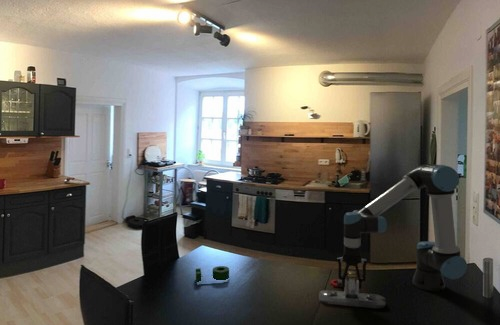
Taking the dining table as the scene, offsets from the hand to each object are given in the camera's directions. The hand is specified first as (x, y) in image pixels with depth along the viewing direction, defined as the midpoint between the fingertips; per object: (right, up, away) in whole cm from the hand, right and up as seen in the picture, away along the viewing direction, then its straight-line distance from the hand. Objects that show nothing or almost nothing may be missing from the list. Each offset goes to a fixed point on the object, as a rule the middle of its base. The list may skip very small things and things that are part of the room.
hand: (351, 294), depth 159 cm
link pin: (0, -4, 0) cm, 4 cm away
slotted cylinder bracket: (-68, -3, +26) cm, 73 cm away
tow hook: (-1, -3, +21) cm, 21 cm away
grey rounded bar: (0, -4, 0) cm, 4 cm away
